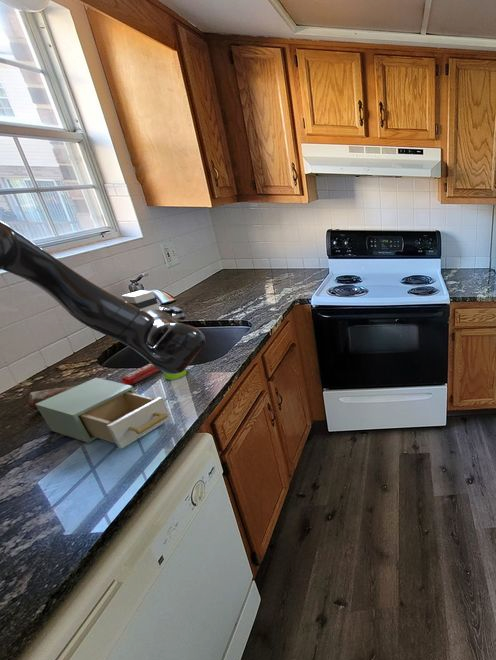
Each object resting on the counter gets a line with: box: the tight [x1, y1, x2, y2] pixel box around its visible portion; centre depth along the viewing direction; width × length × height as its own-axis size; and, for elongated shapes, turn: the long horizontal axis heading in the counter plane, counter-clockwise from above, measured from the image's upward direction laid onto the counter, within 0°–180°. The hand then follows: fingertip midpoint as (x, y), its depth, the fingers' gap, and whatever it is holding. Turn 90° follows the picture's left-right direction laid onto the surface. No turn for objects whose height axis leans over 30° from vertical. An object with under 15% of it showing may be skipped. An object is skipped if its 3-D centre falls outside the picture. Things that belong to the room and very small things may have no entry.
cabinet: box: [35, 377, 137, 443], centre depth 98 cm, size 16×14×9 cm
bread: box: [27, 385, 77, 411], centre depth 108 cm, size 6×19×6 cm, turn 117°
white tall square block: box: [121, 289, 160, 312], centre depth 96 cm, size 5×5×17 cm
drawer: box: [78, 392, 172, 449], centre depth 94 cm, size 19×12×7 cm, turn 71°
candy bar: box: [120, 362, 161, 386], centre depth 122 cm, size 16×4×3 cm, turn 164°
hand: (144, 313), depth 97 cm, fingers closed on white tall square block, 6 cm apart
